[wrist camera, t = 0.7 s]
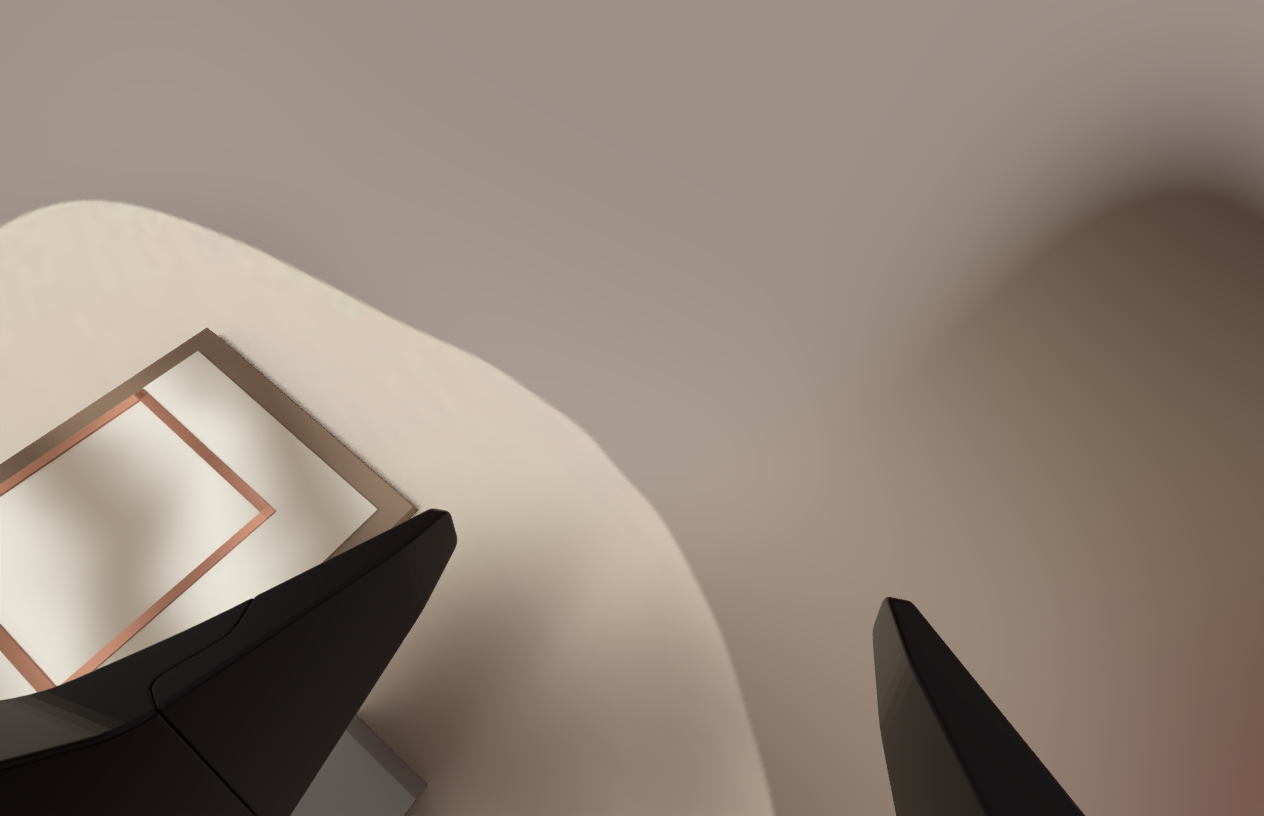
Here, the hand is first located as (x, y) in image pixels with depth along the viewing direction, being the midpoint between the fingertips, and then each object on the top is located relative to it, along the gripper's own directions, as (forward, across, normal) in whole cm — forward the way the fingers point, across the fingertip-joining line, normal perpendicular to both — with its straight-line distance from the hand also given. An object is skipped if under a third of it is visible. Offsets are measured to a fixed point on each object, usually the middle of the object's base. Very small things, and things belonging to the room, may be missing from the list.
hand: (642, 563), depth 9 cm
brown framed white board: (+1, +22, +8) cm, 23 cm away
